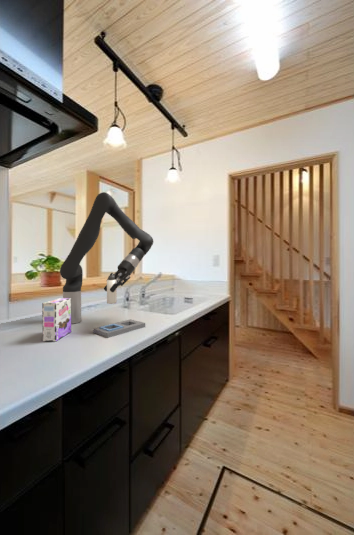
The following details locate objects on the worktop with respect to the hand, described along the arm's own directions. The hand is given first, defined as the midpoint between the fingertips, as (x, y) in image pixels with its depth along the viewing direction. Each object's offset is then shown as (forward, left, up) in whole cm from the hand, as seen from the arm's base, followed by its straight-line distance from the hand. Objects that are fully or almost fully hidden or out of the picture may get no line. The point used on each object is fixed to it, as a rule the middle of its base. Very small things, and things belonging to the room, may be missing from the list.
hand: (108, 290), depth 106 cm
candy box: (-13, -18, -20) cm, 30 cm away
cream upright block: (0, +2, -6) cm, 6 cm away
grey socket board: (0, +6, -20) cm, 21 cm away
